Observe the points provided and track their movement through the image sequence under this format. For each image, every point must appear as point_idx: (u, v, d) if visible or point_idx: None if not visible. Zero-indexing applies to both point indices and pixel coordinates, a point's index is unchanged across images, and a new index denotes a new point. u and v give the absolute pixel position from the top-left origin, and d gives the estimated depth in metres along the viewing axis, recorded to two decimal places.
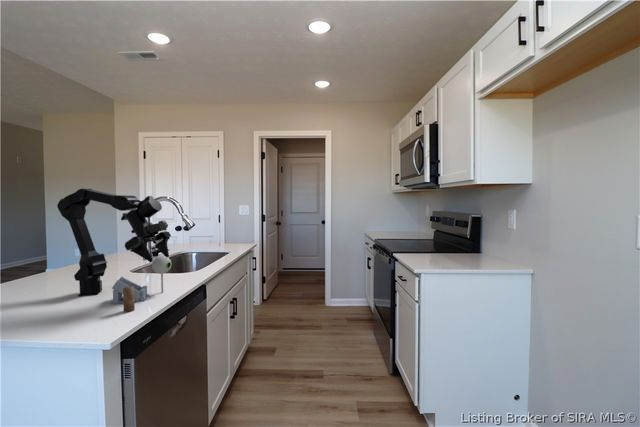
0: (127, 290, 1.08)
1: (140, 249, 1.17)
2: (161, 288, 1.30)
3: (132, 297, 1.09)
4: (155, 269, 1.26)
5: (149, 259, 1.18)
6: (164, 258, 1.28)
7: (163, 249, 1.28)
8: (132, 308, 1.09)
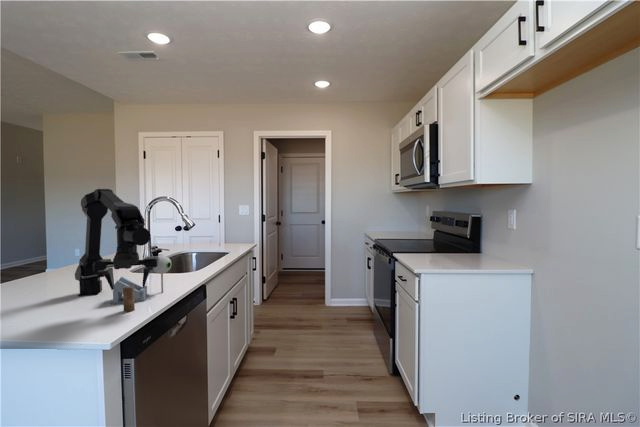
0: (127, 290, 1.08)
1: None
2: (161, 288, 1.30)
3: (132, 297, 1.09)
4: (155, 269, 1.26)
5: None
6: (164, 258, 1.28)
7: None
8: (132, 308, 1.09)
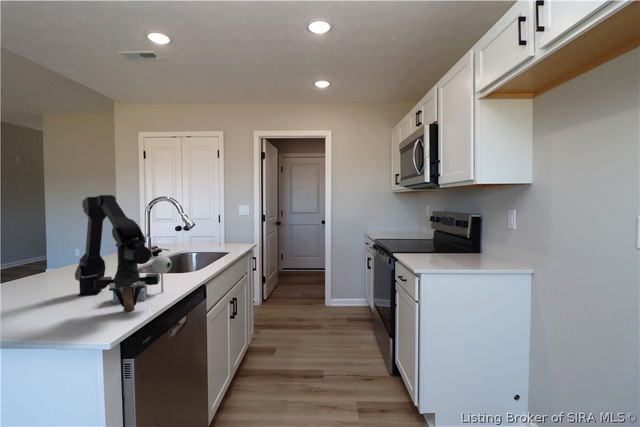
0: (127, 290, 1.08)
1: None
2: (161, 288, 1.30)
3: (132, 297, 1.09)
4: (155, 269, 1.26)
5: None
6: (164, 258, 1.28)
7: None
8: (132, 308, 1.09)
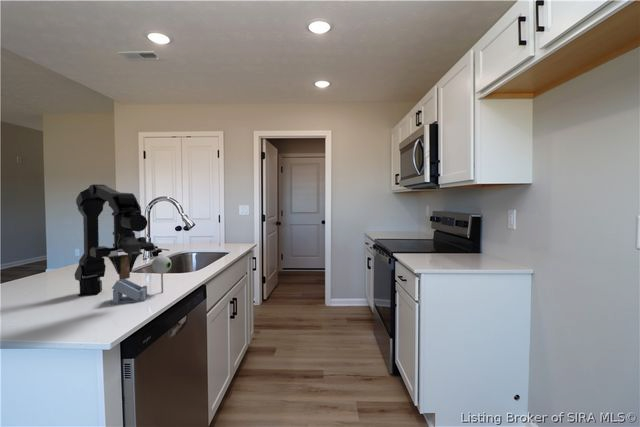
0: (126, 257, 1.12)
1: None
2: (161, 288, 1.30)
3: (129, 264, 1.13)
4: (155, 269, 1.26)
5: (117, 271, 1.11)
6: (164, 258, 1.28)
7: (130, 262, 1.14)
8: (129, 275, 1.13)
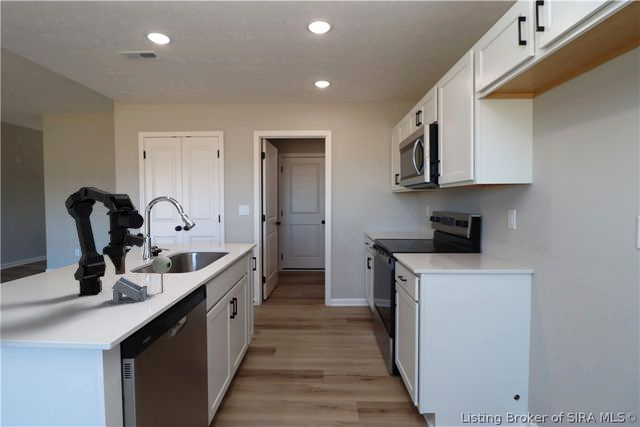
0: None
1: (115, 255, 1.16)
2: (161, 288, 1.30)
3: None
4: (155, 269, 1.26)
5: (118, 267, 1.17)
6: (164, 258, 1.28)
7: None
8: None
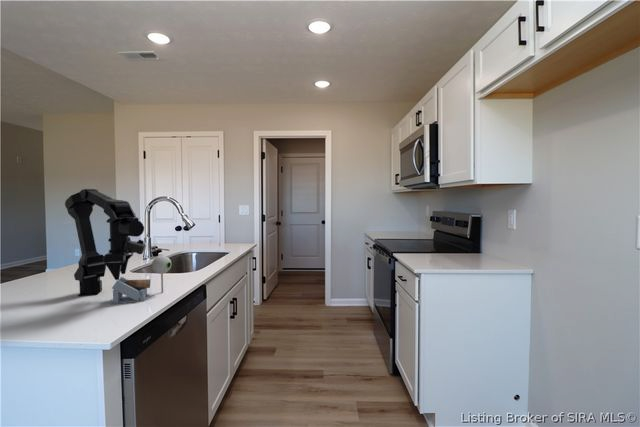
0: None
1: (113, 264, 1.14)
2: (161, 288, 1.30)
3: None
4: (155, 269, 1.26)
5: (116, 276, 1.15)
6: (164, 258, 1.28)
7: (122, 264, 1.24)
8: None
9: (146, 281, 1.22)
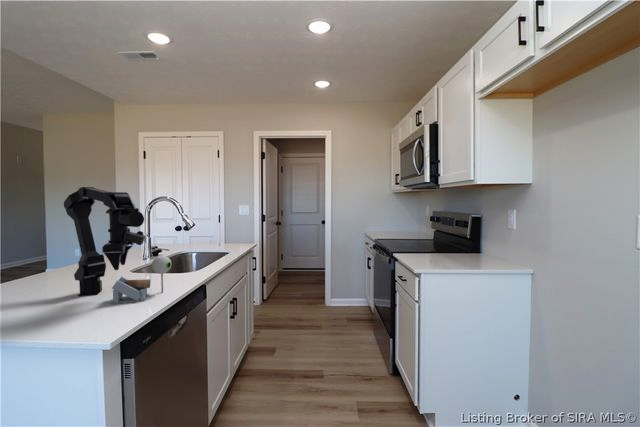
0: None
1: (113, 254, 1.14)
2: (161, 288, 1.30)
3: None
4: (155, 269, 1.26)
5: (116, 267, 1.15)
6: (164, 258, 1.28)
7: (122, 255, 1.24)
8: None
9: (146, 281, 1.22)
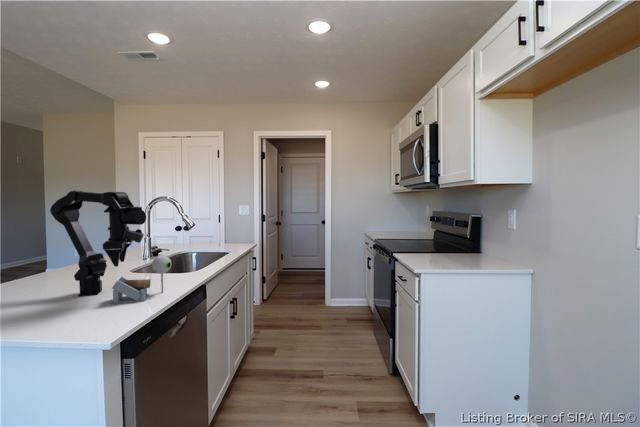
0: None
1: (113, 251, 1.19)
2: (161, 288, 1.30)
3: None
4: (155, 269, 1.26)
5: (116, 263, 1.21)
6: (164, 258, 1.28)
7: (121, 252, 1.30)
8: None
9: (146, 281, 1.22)
